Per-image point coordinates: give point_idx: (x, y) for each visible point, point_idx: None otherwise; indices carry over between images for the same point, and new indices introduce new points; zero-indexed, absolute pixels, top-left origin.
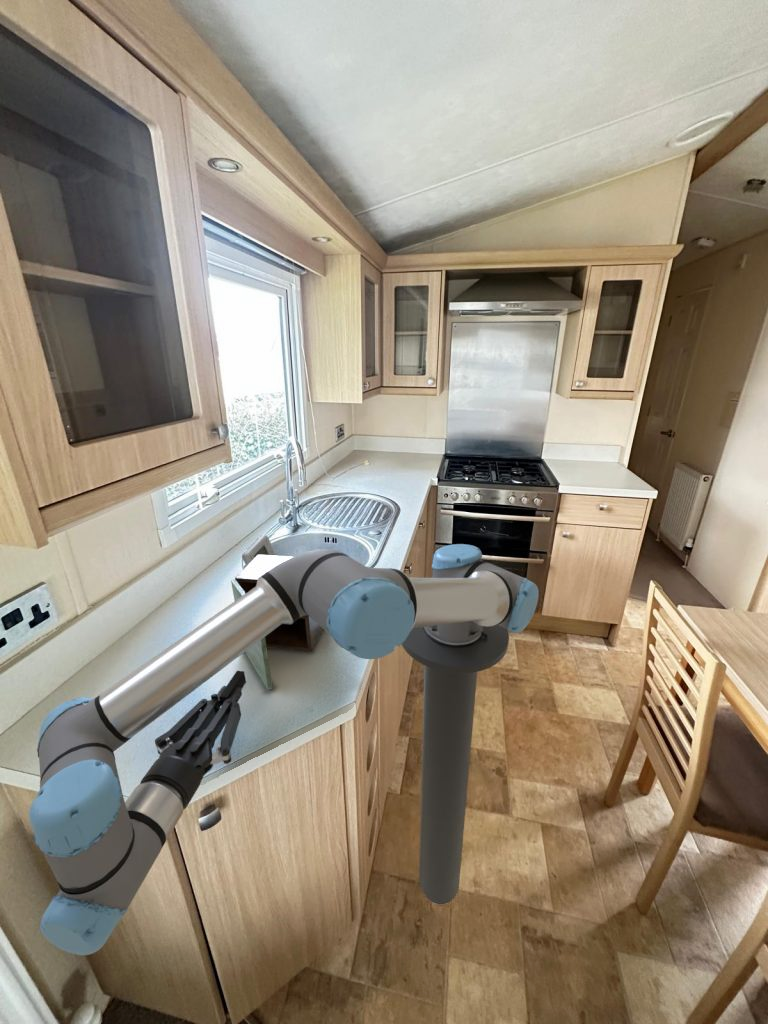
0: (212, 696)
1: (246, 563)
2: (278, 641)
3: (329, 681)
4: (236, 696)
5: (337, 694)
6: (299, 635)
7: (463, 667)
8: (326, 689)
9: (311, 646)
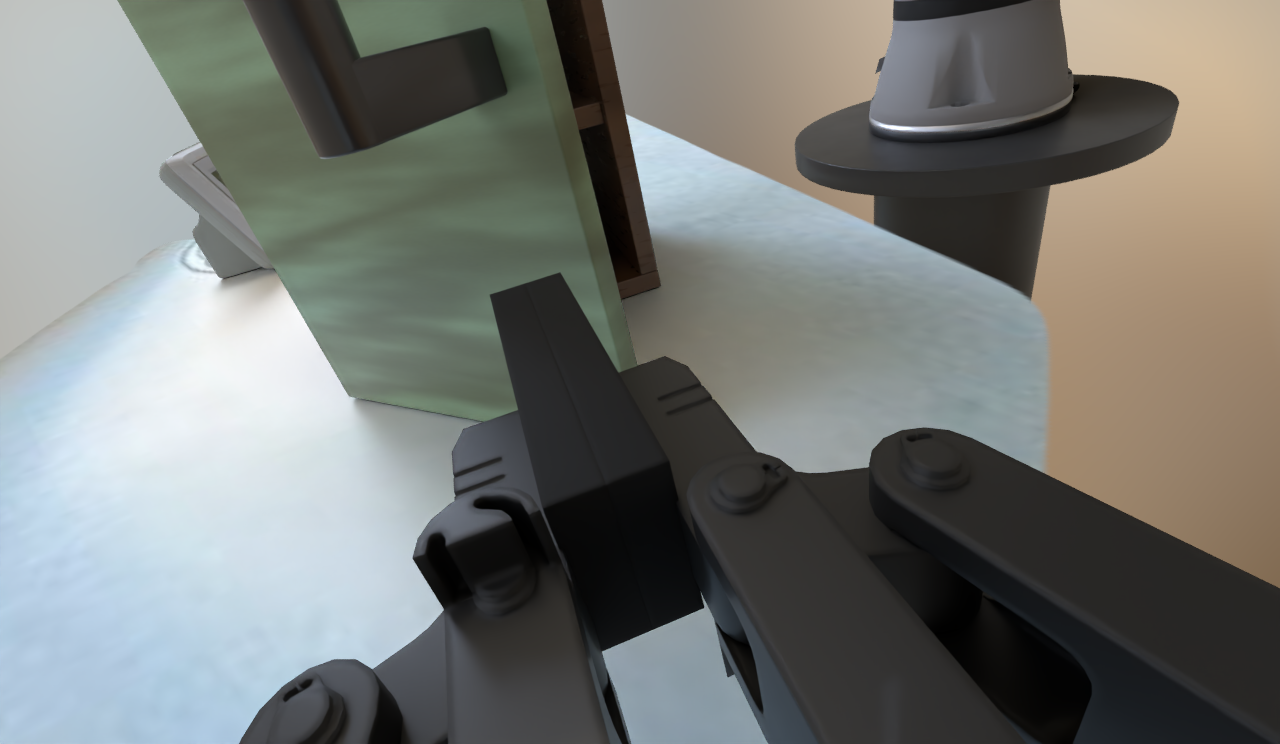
0: (447, 550)
1: (194, 198)
2: None
3: (860, 306)
4: (728, 423)
5: (964, 315)
6: None
7: (1148, 132)
8: (893, 326)
9: (655, 260)
